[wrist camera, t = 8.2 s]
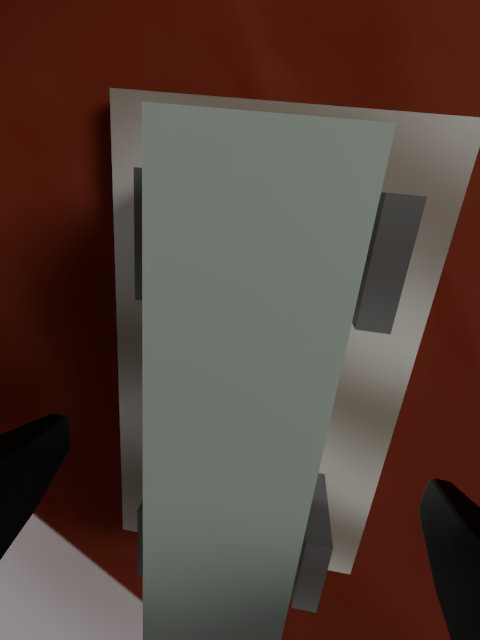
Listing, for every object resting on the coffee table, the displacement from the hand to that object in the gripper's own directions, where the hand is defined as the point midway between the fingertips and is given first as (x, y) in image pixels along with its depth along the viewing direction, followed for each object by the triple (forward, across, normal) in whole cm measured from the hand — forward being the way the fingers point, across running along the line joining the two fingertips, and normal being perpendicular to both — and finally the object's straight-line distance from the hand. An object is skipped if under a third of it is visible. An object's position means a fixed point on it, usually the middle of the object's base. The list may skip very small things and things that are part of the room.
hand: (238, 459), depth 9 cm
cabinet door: (+4, 0, 0) cm, 4 cm away
